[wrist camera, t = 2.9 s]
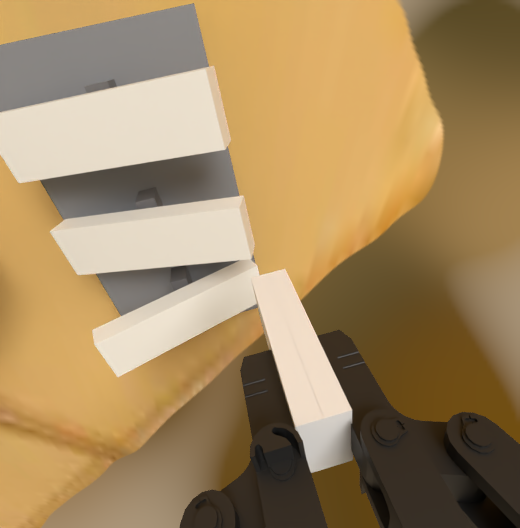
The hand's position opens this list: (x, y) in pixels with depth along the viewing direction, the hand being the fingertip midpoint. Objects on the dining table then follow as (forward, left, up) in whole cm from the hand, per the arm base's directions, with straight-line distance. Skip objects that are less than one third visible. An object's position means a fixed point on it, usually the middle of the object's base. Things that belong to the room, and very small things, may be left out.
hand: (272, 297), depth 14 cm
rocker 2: (-6, 0, -8) cm, 10 cm away
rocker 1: (-6, +7, -8) cm, 12 cm away
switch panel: (-6, 0, -15) cm, 16 cm away
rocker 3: (-6, -6, -8) cm, 11 cm away
